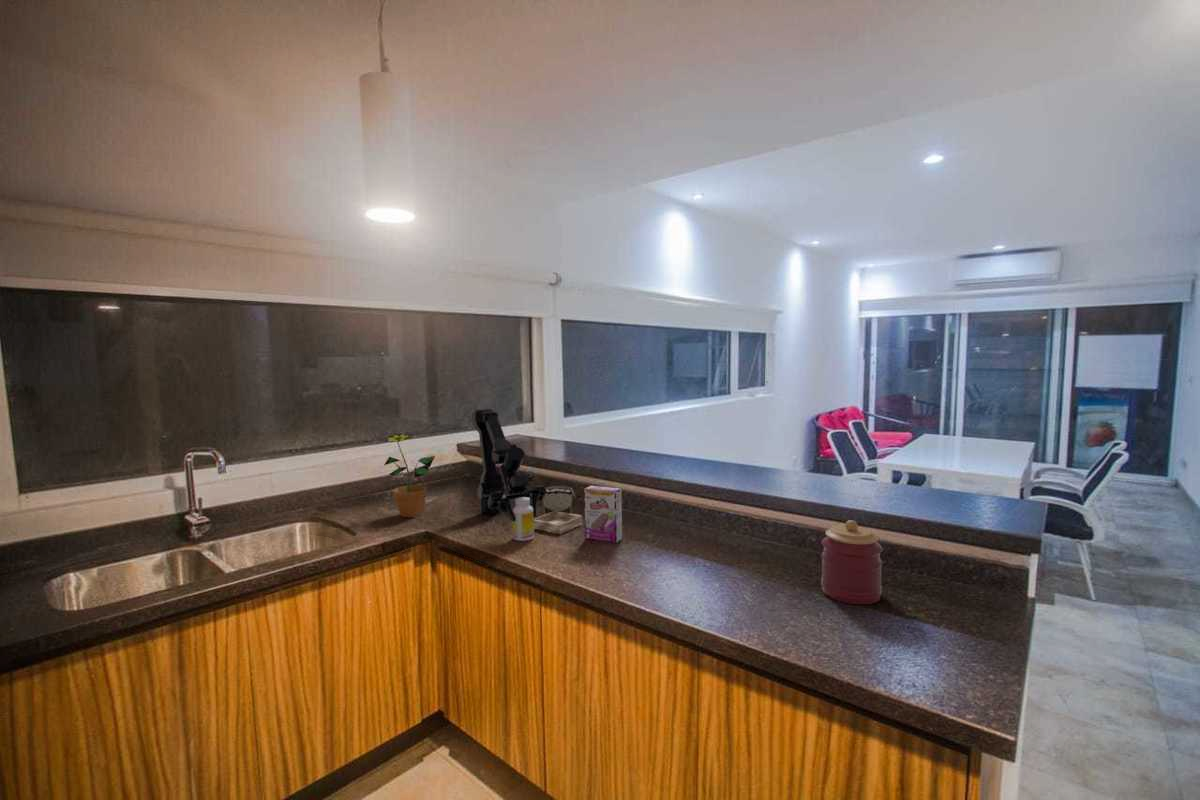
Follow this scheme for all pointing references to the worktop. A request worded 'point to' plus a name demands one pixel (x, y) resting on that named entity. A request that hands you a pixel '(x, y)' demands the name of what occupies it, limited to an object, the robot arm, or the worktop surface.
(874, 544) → the canister
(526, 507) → the supplement bottle
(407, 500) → the potted plant
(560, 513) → the box
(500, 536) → the worktop surface
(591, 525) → the candy bar box
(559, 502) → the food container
